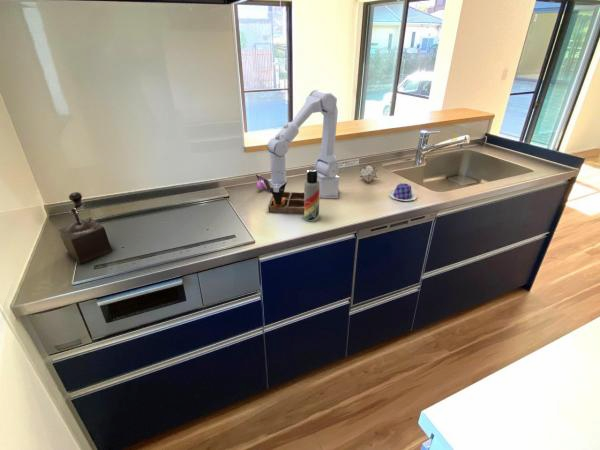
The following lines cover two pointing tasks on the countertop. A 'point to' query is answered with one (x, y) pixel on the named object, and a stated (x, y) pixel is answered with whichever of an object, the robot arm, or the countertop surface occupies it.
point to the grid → (289, 204)
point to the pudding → (403, 192)
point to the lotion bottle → (311, 196)
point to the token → (281, 202)
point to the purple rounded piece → (261, 184)
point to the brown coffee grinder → (84, 235)
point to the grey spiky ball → (368, 173)
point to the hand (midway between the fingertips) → (279, 201)
